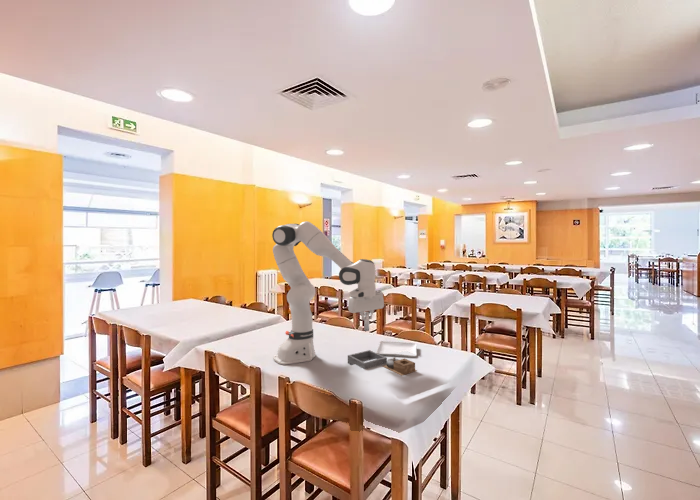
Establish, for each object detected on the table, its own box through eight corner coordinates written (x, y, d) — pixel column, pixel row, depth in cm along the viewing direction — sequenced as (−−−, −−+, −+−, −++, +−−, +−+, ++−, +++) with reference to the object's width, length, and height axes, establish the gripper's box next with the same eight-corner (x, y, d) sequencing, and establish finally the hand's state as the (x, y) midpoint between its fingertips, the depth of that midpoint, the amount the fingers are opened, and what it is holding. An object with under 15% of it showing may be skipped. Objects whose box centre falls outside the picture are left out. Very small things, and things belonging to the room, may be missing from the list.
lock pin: (366, 331, 166) (366, 313, 166) (363, 330, 168) (363, 312, 168) (370, 330, 168) (370, 312, 168) (367, 329, 170) (367, 311, 170)
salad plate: (416, 361, 173) (416, 355, 173) (375, 359, 177) (375, 352, 177) (416, 348, 194) (416, 342, 194) (380, 346, 198) (380, 340, 198)
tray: (364, 372, 159) (364, 363, 159) (347, 363, 171) (347, 355, 170) (386, 365, 167) (386, 357, 167) (369, 357, 178) (369, 350, 178)
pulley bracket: (401, 378, 151) (401, 366, 151) (381, 368, 163) (381, 357, 162) (417, 373, 156) (417, 362, 156) (396, 364, 168) (396, 353, 168)
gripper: (378, 289, 176) (378, 315, 176) (346, 292, 164) (346, 320, 165) (386, 290, 171) (386, 317, 171) (353, 294, 159) (353, 323, 160)
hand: (366, 319), depth 168 cm, fingers closed on lock pin, 2 cm apart
